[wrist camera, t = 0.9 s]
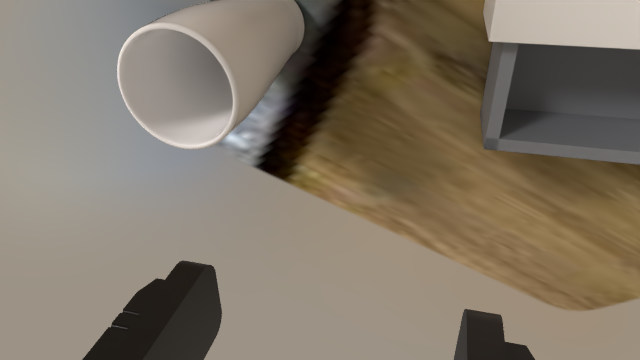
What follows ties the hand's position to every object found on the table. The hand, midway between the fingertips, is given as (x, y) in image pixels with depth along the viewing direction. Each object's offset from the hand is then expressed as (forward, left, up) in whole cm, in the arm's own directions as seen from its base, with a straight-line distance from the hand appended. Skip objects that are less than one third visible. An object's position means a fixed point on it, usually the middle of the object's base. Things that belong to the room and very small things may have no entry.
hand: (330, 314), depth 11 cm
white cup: (-4, -10, -28) cm, 30 cm away
